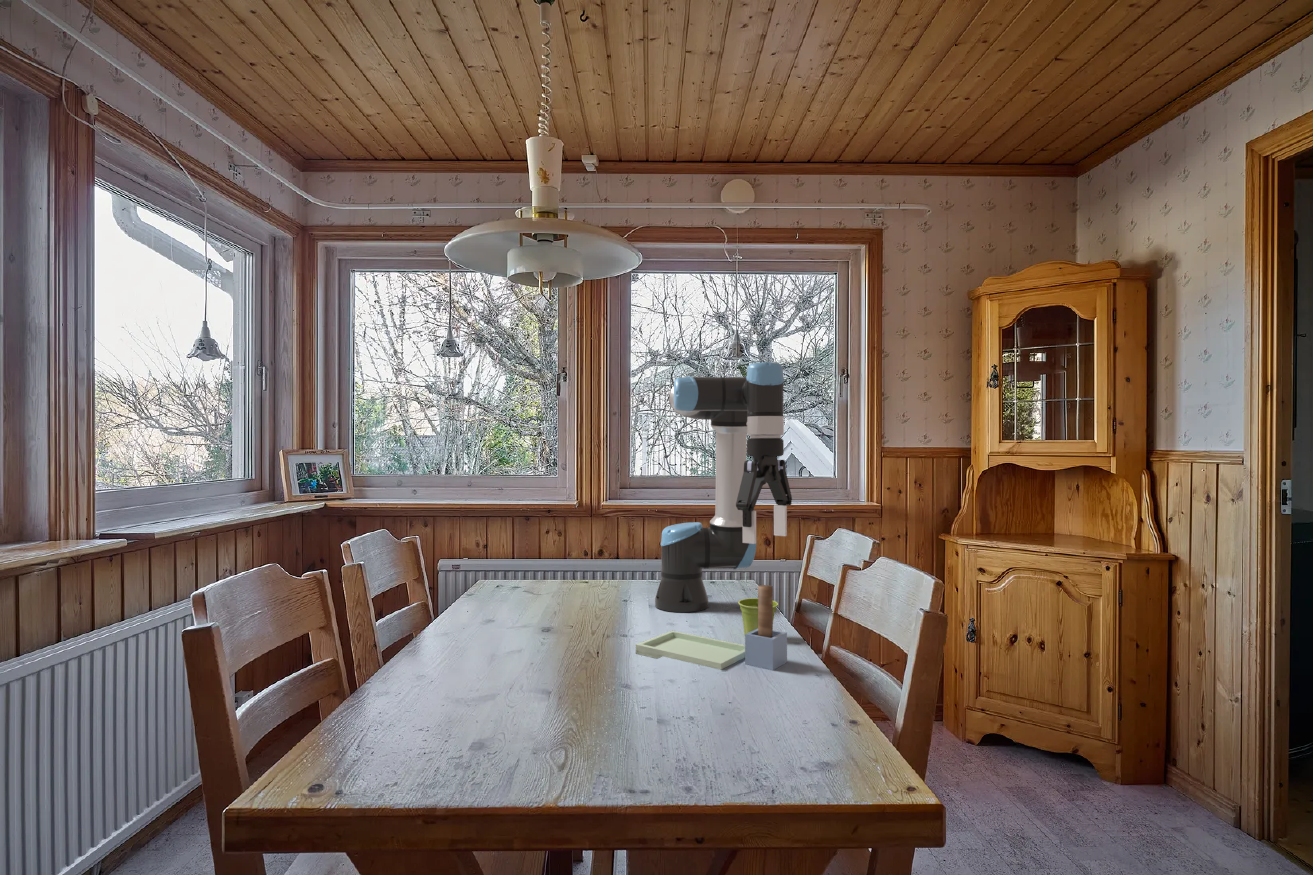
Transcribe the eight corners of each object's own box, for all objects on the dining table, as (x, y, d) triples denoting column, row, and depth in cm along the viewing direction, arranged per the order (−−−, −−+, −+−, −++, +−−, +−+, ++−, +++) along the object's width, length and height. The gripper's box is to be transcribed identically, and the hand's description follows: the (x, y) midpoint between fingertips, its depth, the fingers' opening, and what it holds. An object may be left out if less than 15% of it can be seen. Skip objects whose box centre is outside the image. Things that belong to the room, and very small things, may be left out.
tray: (672, 638, 165) (672, 630, 165) (754, 655, 152) (754, 646, 152) (635, 653, 154) (635, 644, 154) (720, 673, 140) (720, 663, 141)
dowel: (762, 660, 146) (762, 584, 146) (775, 662, 145) (775, 586, 145) (755, 663, 144) (755, 586, 144) (768, 666, 142) (768, 588, 142)
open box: (759, 660, 149) (759, 627, 149) (787, 665, 145) (787, 632, 145) (745, 667, 144) (745, 634, 144) (772, 674, 140) (772, 639, 140)
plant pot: (776, 634, 169) (776, 598, 169) (779, 645, 160) (779, 607, 160) (737, 633, 170) (737, 597, 170) (738, 644, 160) (738, 606, 160)
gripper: (776, 437, 157) (776, 531, 157) (718, 437, 137) (718, 544, 137) (807, 437, 152) (807, 534, 152) (751, 436, 132) (752, 548, 132)
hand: (765, 539), depth 144 cm, fingers open, 13 cm apart
